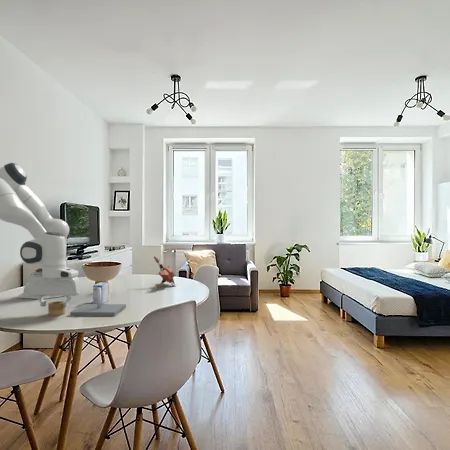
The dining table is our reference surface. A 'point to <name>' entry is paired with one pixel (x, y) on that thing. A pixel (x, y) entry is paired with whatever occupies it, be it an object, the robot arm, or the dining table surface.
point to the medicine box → (103, 292)
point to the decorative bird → (165, 273)
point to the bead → (56, 308)
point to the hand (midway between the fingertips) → (54, 306)
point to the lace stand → (98, 308)
